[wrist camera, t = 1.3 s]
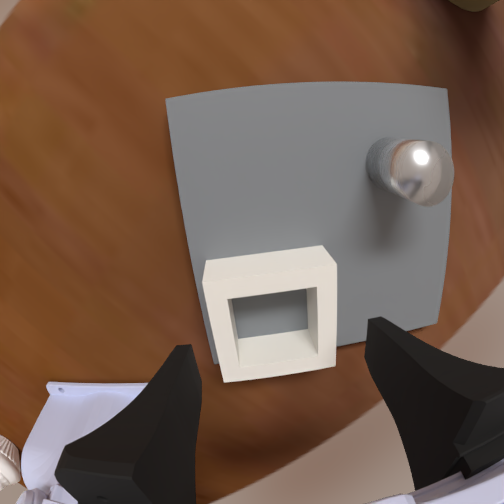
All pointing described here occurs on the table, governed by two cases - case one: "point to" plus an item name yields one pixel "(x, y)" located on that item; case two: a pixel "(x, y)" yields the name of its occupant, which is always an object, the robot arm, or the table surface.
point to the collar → (265, 282)
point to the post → (411, 169)
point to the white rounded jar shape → (8, 463)
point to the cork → (473, 4)
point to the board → (312, 197)
